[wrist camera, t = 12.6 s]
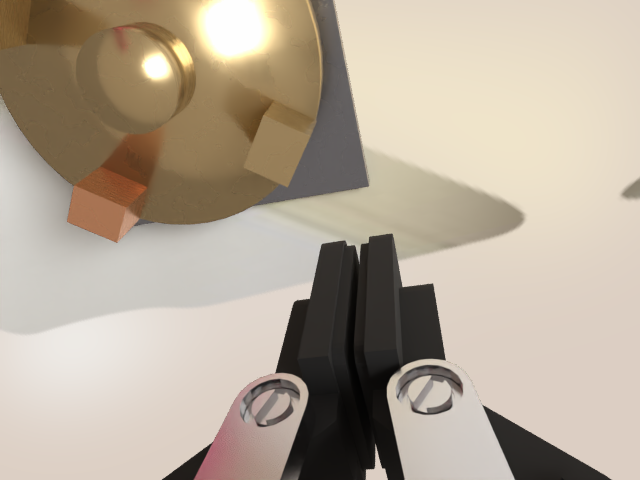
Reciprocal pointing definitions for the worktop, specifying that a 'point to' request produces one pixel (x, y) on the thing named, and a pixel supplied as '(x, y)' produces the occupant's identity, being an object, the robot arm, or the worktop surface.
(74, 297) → the worktop surface
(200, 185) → the brass lugged disc
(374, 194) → the worktop surface
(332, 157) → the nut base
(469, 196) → the worktop surface
